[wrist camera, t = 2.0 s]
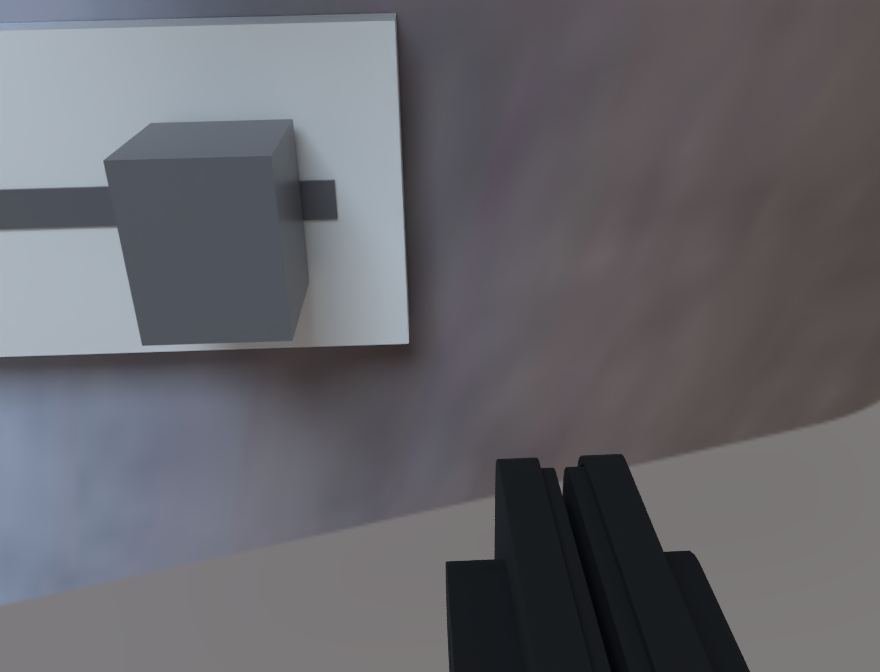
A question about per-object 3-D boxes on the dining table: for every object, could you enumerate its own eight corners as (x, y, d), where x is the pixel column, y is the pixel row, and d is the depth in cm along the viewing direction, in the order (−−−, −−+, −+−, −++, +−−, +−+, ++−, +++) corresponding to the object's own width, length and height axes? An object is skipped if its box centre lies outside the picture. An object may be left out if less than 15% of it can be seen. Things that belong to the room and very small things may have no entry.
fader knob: (292, 119, 23) (271, 155, 20) (309, 281, 26) (292, 340, 22) (150, 123, 23) (103, 160, 20) (179, 285, 25) (142, 345, 22)
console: (396, 13, 24) (394, 21, 22) (409, 317, 29) (408, 345, 27) (-429, 34, 24) (-501, 44, 22) (-284, 339, 28) (-333, 369, 27)
